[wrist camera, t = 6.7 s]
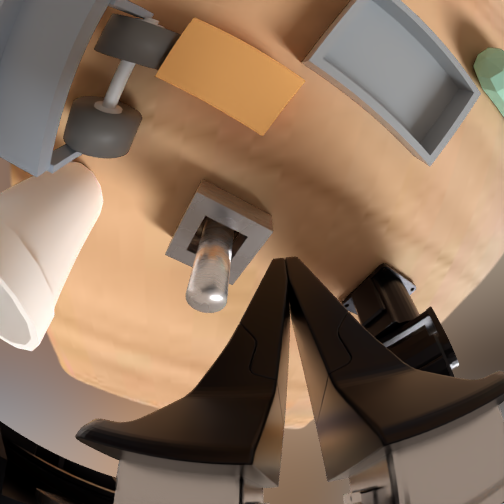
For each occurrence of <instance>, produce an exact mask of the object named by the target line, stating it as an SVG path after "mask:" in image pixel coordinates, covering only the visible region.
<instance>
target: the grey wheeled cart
mask: <svg viewBox="0 0 504 504" xmlns="http://www.w3.org/2000/svg"><path fill="white" fill-rule="evenodd" d="M108 6H109V7H112V8H115V9H118V10H120V11H123V12H126V13H128V14H131V15H133V16H136V17H140V18H143V19H139V18H131V17H127V16H123V15H118V14H112V15H111V17H110V19H109V21H108V22H107V24H106V26H105V28H104V30H103V32H102V34H101V36H100V38H99V40H98V42H97V44H96V46H95V48H94V50H96V51H98V52H100V53H103V54H106V55H109V56H112V57H115V58H118V59H121V61H120V63H119V65H118V68H117V70H116V72H115V74H114V76H113V79H112V81H111V83H110V86H109V88H108V90H107V93H106V95H105V98H103V97H95V96H85V97H80V98H77V99H75V100H74V101H73V104H72V107H71V111H70V114H69V117H68V121H67V124H66V128H65V132H64V136H63V139H64V142H65V143H66V144H65V145H63V146H61V147H60V148H58V149H56V150H54V151H53V147H54V143H55V138H56V134H57V130H58V126H59V122H60V119H61V115H62V112H63V108H64V105H65V102H66V99H67V96H68V93H69V90H70V87H71V84H72V81H73V78H74V76H75V73H76V71H77V68H78V65H79V63H80V61H81V58H82V56H83V54H84V51H85V49H86V47H87V45H88V43H89V41H90V38H91V36H92V34H93V32H94V30H95V28H96V26H97V25H98V23H99V21H100V19H101V17H102V15H103V14H104V12H105V10H106V8H107V7H108ZM153 15H154V14H153V13H151V12H149V11H148V10H146V9H144V8H142V7H140V6H138V5H136V4H134V3H132V2H130V1H128V0H0V157H1V158H3V159H5V160H6V161H8V162H10V163H12V164H13V165H15V166H17V167H19V168H21V169H22V170H24V171H26V172H28V173H30V174H32V175H33V176H35V177H38V176H40V175H41V174H43V173H44V172H45V171H48V172H50V173H52V174H53V173H54V172H56V171H57V170H59V169H60V168H61V167H63V166H64V165H66V164H67V163H69V162H70V161H72V160H74V159H75V158H77V157H78V156H80V155H82V154H85V155H88V156H92V157H98V158H117V157H121V156H124V155H125V154H127V153H128V151H129V149H130V147H131V144H132V142H133V139H134V137H135V134H136V132H137V129H138V127H139V125H140V122H141V120H142V115H141V114H140V113H139V112H138V111H137V110H136V109H134V108H132V107H131V106H129V105H126V104H124V103H122V102H119V99H120V96H121V94H122V92H123V89H124V87H125V85H126V83H127V81H128V78H129V76H130V74H131V72H132V70H133V68H134V66H135V64H138V65H142V66H146V67H150V68H154V69H158V70H159V69H160V67H161V65H162V64H163V62H164V60H165V59H166V57H167V56H168V54H169V52H170V51H171V49H172V48H173V46H174V45H175V43H176V42H177V40H178V39H179V37H180V36H181V35H180V34H177V33H175V32H173V31H170V30H168V29H165V27H163V26H161V25H158V23H159V21H157V20H155V19H152V17H153Z"/></svg>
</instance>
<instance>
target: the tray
mask: <svg viewBox="0 0 504 504" xmlns="http://www.w3.org/2000/svg"><path fill="white" fill-rule="evenodd" d="M302 64H304V65H305V66H307V67H308V68H310V69H311V70H313V71H314V72H316V73H317V74H319V75H320V76H322V77H323V78H324V79H326V80H327V81H329V82H330V83H331V84H333V85H334V86H336V87H337V88H338V89H340V90H341V91H342V92H344V93H345V94H346V95H347V96H349V97H350V98H351V99H352V100H354V101H355V102H356V103H357V104H359V105H360V106H361V107H362V108H363V109H365V110H366V111H367V112H368V113H369V114H371V115H372V116H373V117H374V118H375V119H376V120H377V121H378V122H380V123H381V124H382V125H383V126H384V127H385V128H386V129H387V130H388V131H389V132H390V133H391V134H393V135H394V136H395V137H396V138H397V139H398V140H399V141H400V142H401V143H402V144H403V145H404V146H405V147H406V148H407V149H408V150H409V151H410V152H411V153H412V154H413V156H415V157H416V158H418V159H419V160H421V161H422V162H424V163H425V164H427V165H428V166H431V165H432V163H433V162H434V161H435V159H436V158H437V157H438V155H439V154H440V153H441V151H442V150H443V149H444V147H445V146H446V145H447V143H448V142H449V140H450V139H451V138H452V136H453V135H454V133H455V132H456V131H457V129H458V128H459V126H460V125H461V123H462V122H463V120H464V119H465V117H466V116H467V114H468V113H469V111H470V110H471V108H472V107H473V105H474V104H475V102H476V101H477V99H478V97H479V96H480V94H481V93H480V91H479V90H478V88H477V87H476V85H475V84H474V82H473V81H472V79H471V78H470V77H469V75H468V74H467V72H466V71H465V70H464V68H463V67H462V66H461V64H460V63H459V62H458V60H457V59H456V58H455V57H454V55H453V54H452V53H451V52H450V51H449V49H448V48H447V47H446V46H445V45H444V43H443V42H442V41H441V40H440V39H439V38H438V37H437V36H436V34H435V33H434V32H433V31H432V30H431V29H430V28H429V27H428V26H427V25H426V24H425V23H424V22H423V21H422V20H421V19H420V18H419V17H418V16H417V15H416V14H415V13H414V12H413V11H412V10H411V9H410V8H409V7H407V6H406V5H405V4H404V3H403V2H402V1H401V0H351V1H350V2H349V3H348V4H347V6H346V7H345V8H344V9H343V10H342V12H341V13H340V14H339V15H338V16H337V18H336V19H335V20H334V21H333V23H332V24H331V25H330V26H329V27H328V29H327V30H326V31H325V33H324V34H323V35H322V36H321V38H320V39H319V40H318V41H317V43H316V44H315V45H314V47H313V48H312V49H311V51H310V52H309V53H308V55H307V56H306V57H305V59H304V60H303V61H302Z"/></svg>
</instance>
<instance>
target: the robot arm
mask: <svg viewBox="0 0 504 504" xmlns="http://www.w3.org/2000/svg"><path fill="white" fill-rule="evenodd" d="M384 268H385V269H384ZM415 290H416V286H415V284H414V283H412V282H411V281H410V280H408V279H407V278H405V277H404V276H403V275H401V274H400V273H398V272H397V271H395V270H394V269H393V268H391V267H390V266H388V265H387V264H381V265H380V266H379V267H378V268H377V269H376V270H375V271H374V272H373V273H372V274H371V275H370V276H369V277H368V278H367V279H366V280H365V281H364V282H363V283H362V284H361V285H360V286H359V287H358V288H357V289H355V290H354V291H353V292H352V293H351V294H350V295H349V296H348V297H347V298H346V299H345V300H344V301H343V302H342V304H341V303H340V302H339V301H338V299H337V298H336V297H335V296H334V295H333V294H332V293H331V292H330V291H329V290H328V289H327V288H326V287H325V286H324V285H323V283H322V282H321V281H320V280H319V279H318V278H317V277H316V276H315V275H314V274H313V273H312V272H311V271H310V270H309V269H308V268H307V267H306V266H305V265H304V263H303V262H302V261H301V260H300V259H299V258H298V257H287V258H286V259H284V258H277V259H273V260H272V262H271V264H270V265H269V267H268V269H267V271H266V273H265V275H264V277H263V279H262V281H261V283H260V285H259V287H258V289H257V291H256V292H255V294H254V296H253V298H252V300H251V302H250V304H249V306H248V308H247V310H246V311H245V313H244V315H243V317H242V319H241V321H240V323H239V325H238V326H237V328H236V330H235V332H234V334H233V335H232V337H231V339H230V340H229V342H228V344H227V345H226V347H225V348H224V350H223V351H222V353H221V354H220V355H219V357H218V358H217V360H216V361H215V362H214V364H213V365H212V366H211V368H210V369H209V370H208V371H207V373H206V374H205V375H204V377H203V378H202V379H201V381H200V382H199V383H198V385H197V386H196V387H195V388H194V389H193V390H192V391H191V392H190V393H189V394H187V395H186V396H185V397H183V398H181V399H179V400H177V401H175V402H173V403H171V404H169V405H167V406H165V407H163V408H161V409H159V410H157V411H155V412H153V413H151V414H148V415H146V416H144V417H142V418H139V419H137V420H134V421H129V422H114V421H109V420H105V419H95V420H92V421H91V422H89V423H87V424H86V425H84V426H83V427H82V428H81V429H80V430H79V431H78V433H77V434H76V436H75V437H76V439H77V440H79V441H80V442H82V443H84V444H86V445H88V446H90V447H92V448H94V449H95V450H98V451H100V452H102V453H104V454H106V455H108V456H110V457H112V458H115V459H117V460H119V464H118V471H117V477H116V478H115V477H112V476H109V475H106V474H103V473H100V472H97V471H94V470H92V469H89V468H87V467H84V466H81V465H79V464H77V463H74V462H72V461H70V460H67V459H65V458H63V457H61V456H59V455H57V454H55V453H53V452H51V451H49V450H47V449H45V448H43V447H41V446H39V445H37V444H35V443H34V442H32V441H30V440H29V439H27V438H25V437H24V436H22V435H20V434H19V433H17V432H16V431H14V430H12V429H11V428H9V427H8V426H6V425H5V424H3V423H2V422H1V421H0V504H270V503H263V488H270V487H278V484H279V475H280V466H281V456H282V446H283V435H284V423H285V410H286V396H287V380H288V363H289V342H290V314H291V320H292V324H293V328H294V332H295V337H296V341H297V345H298V349H299V353H300V357H301V362H302V366H303V370H304V375H305V379H306V383H307V388H308V392H309V396H310V401H311V405H312V410H313V414H314V419H315V423H316V428H317V432H318V437H319V442H320V447H321V451H322V456H323V461H324V466H325V471H326V476H327V481H328V482H329V481H335V480H340V479H346V478H349V483H350V493H348V494H344V495H343V499H344V504H503V503H504V420H503V417H502V414H501V411H500V408H499V404H501V403H502V402H503V401H504V372H502V371H497V372H495V373H493V374H491V375H489V376H487V377H485V378H482V379H477V380H468V379H460V378H455V377H454V375H453V372H452V370H453V369H454V368H456V367H457V366H459V364H458V361H457V358H456V355H455V353H454V351H453V348H452V346H451V344H450V342H449V339H448V337H447V335H446V333H445V331H444V329H443V327H442V326H441V324H440V322H439V320H438V318H437V316H436V314H435V313H434V311H433V309H432V307H429V308H428V309H426V311H425V312H423V313H422V314H420V315H419V313H418V310H417V308H416V307H415V305H414V303H413V301H412V299H411V297H410V295H411V294H412V293H413V292H414V291H415ZM348 311H350V312H352V313H355V314H357V315H358V317H359V321H360V323H359V322H358V321H357V320H356V319H355V318H354V317H353V316H352V315H351V313H350V312H348Z"/></svg>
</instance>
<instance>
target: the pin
mask: <svg viewBox="0 0 504 504" xmlns="http://www.w3.org/2000/svg"><path fill="white" fill-rule="evenodd" d="M233 235H234V230H233V229H231V228H229V227H227V226H225V225H223V224H221V223H219V222H217V221H215V220H213V219H211V218H209V217H208V218H207V219H206V221H205V224H204V228H203V231H202V235H201V238H200V242H199V246H198V249H197V253H196V257H195V260H194V264H193V268H192V272H191V276H190V280H189V284H188V288H187V292H186V300H187V302H188V304H189V305H190V306H191V307H192V308H194V309H196V310H198V311H200V312H205V313H213V312H218V311H220V310H222V309H223V308H224V307H225V305H226V303H227V295H228V284H229V274H230V264H231V254H232V244H233Z"/></svg>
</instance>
